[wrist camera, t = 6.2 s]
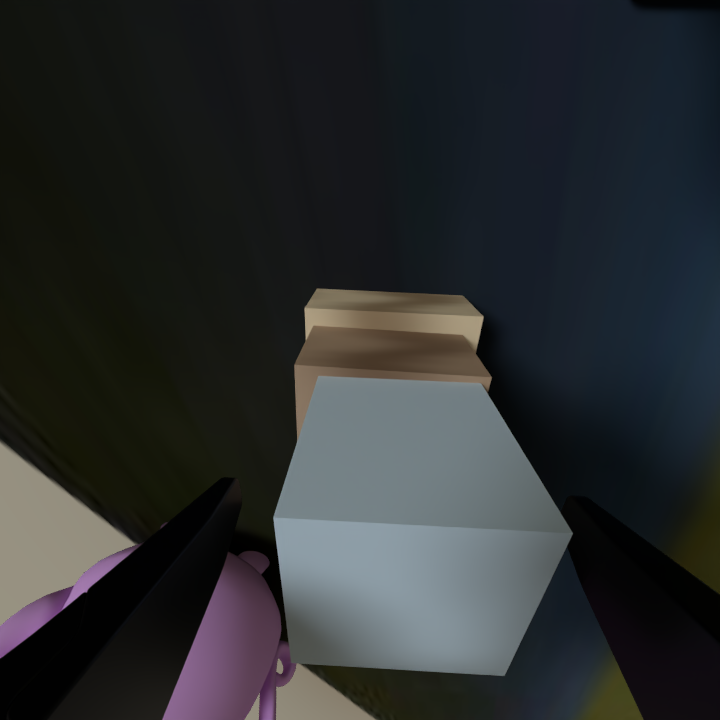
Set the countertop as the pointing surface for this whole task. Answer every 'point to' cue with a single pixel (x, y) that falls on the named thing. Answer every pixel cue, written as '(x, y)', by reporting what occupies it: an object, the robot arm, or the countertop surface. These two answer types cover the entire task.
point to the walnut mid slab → (383, 359)
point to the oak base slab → (394, 312)
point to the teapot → (202, 641)
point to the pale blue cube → (412, 530)
